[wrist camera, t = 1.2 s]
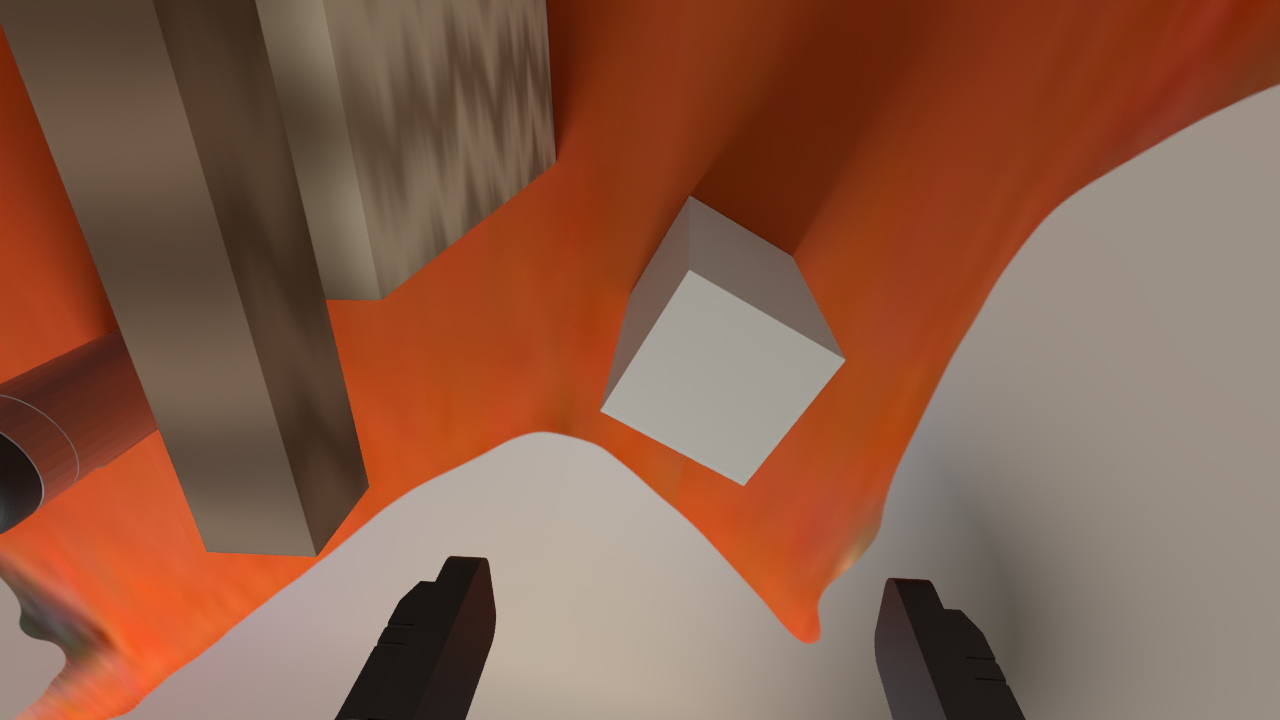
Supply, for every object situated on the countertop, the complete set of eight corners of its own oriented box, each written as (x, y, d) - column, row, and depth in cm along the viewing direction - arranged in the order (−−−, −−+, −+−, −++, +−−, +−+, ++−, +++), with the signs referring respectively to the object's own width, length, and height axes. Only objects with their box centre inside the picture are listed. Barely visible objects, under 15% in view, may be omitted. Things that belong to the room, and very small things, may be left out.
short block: (726, 350, 57) (743, 485, 39) (629, 295, 55) (600, 410, 37) (792, 256, 53) (845, 360, 35) (689, 195, 51) (689, 269, 33)
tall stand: (555, 162, 51) (380, 300, 22) (458, 162, 51) (162, 296, 23) (545, -11, 46) (297, -126, 17) (436, -9, 46) (17, -118, 17)
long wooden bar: (369, 486, 26) (316, 556, 22) (274, 482, 26) (207, 552, 22) (215, -171, 17) (83, -235, 13) (71, -166, 17) (-97, -227, 13)
